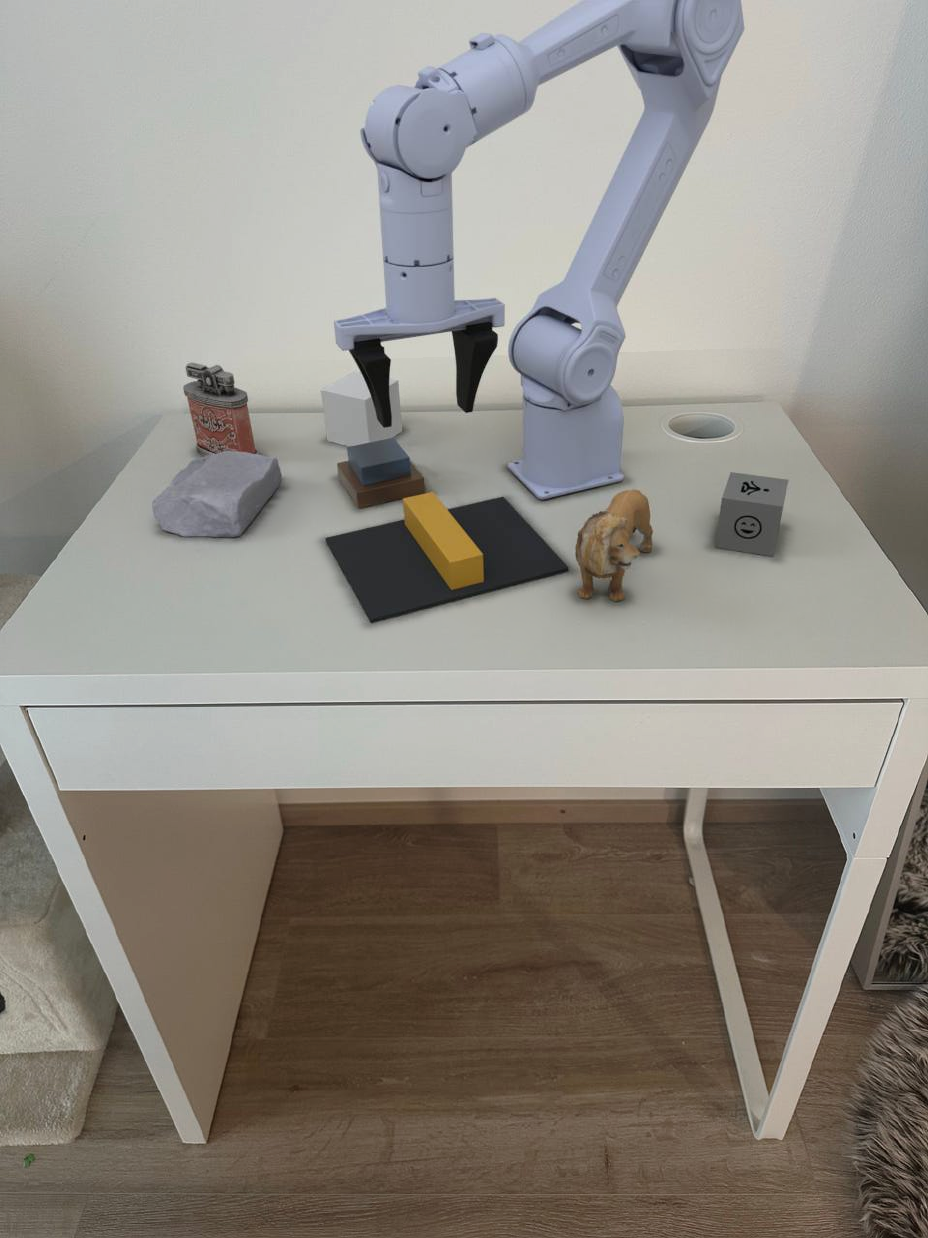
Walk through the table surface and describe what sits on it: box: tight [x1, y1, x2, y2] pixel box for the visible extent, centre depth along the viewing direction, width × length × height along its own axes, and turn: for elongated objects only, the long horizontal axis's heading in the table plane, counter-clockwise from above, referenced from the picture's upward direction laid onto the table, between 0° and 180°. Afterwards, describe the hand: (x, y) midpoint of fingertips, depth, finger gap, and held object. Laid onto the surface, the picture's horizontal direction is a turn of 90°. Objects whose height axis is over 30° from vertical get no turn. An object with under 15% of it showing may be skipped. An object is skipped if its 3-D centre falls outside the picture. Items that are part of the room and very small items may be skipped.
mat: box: [325, 496, 570, 624], centre depth 84 cm, size 18×14×1 cm
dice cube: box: [714, 471, 789, 558], centre depth 83 cm, size 5×5×5 cm
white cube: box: [320, 370, 403, 447], centre depth 103 cm, size 6×6×6 cm
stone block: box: [151, 451, 282, 538], centre depth 92 cm, size 12×5×10 cm
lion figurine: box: [575, 488, 654, 602], centre depth 78 cm, size 15×5×9 cm, turn 163°
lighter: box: [182, 362, 259, 457], centre depth 99 cm, size 8×3×10 cm, turn 58°
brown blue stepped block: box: [336, 437, 426, 509], centre depth 94 cm, size 7×7×4 cm
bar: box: [402, 491, 484, 590], centre depth 83 cm, size 12×3×3 cm, turn 22°
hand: (425, 415), depth 83 cm, fingers open, 7 cm apart
